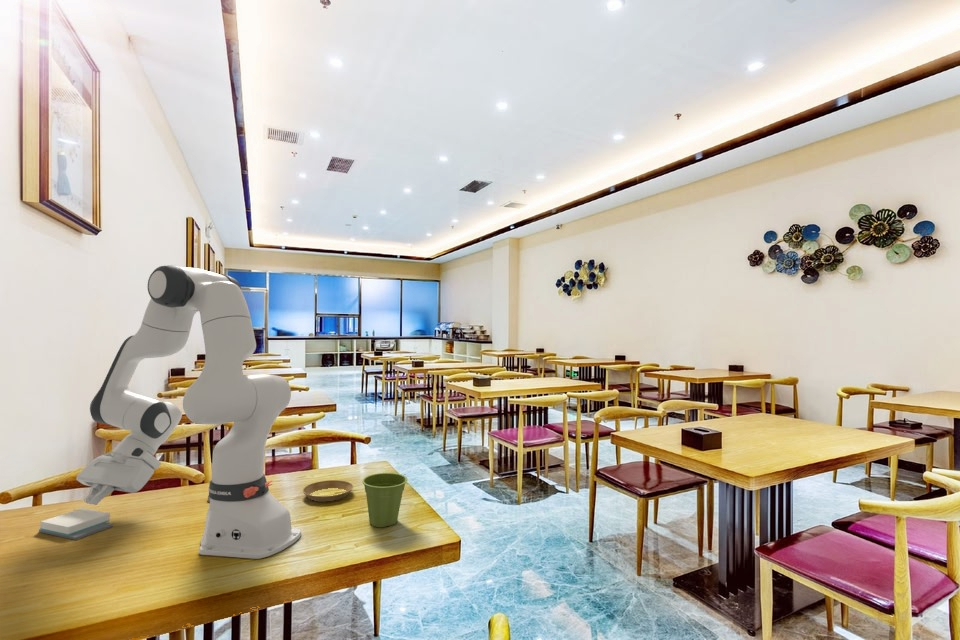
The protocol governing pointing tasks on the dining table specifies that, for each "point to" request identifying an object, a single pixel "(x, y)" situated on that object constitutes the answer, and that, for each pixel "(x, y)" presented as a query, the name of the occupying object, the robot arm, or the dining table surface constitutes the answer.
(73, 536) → the slate board
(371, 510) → the plant pot
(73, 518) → the tile
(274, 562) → the dining table surface
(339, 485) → the plant saucer
